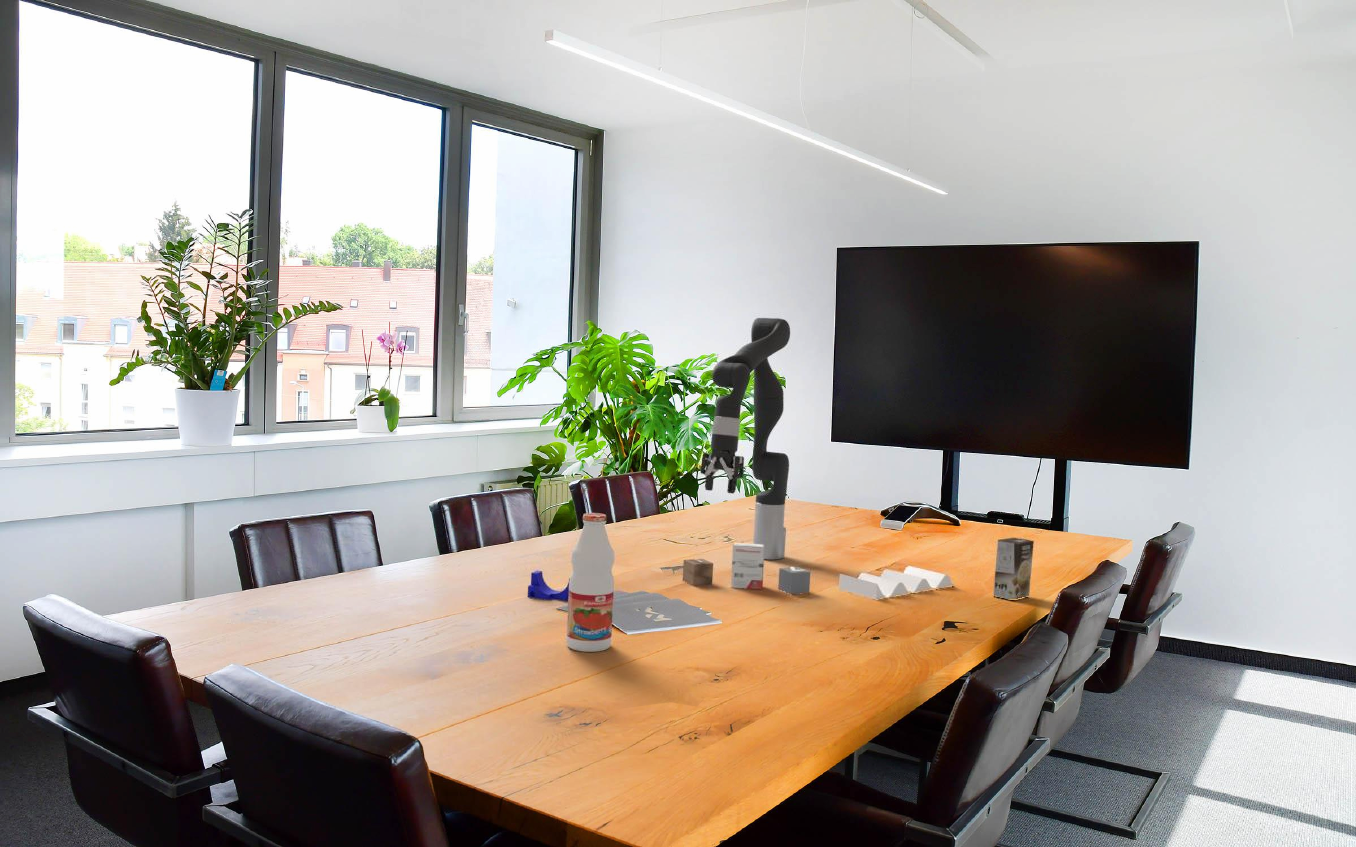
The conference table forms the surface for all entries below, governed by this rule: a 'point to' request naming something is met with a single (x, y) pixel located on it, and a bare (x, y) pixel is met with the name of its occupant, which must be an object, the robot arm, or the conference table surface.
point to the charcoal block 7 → (794, 580)
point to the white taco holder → (893, 582)
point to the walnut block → (698, 572)
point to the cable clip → (545, 589)
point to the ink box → (747, 566)
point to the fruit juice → (591, 588)
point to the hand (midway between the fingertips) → (719, 491)
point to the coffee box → (1013, 568)
